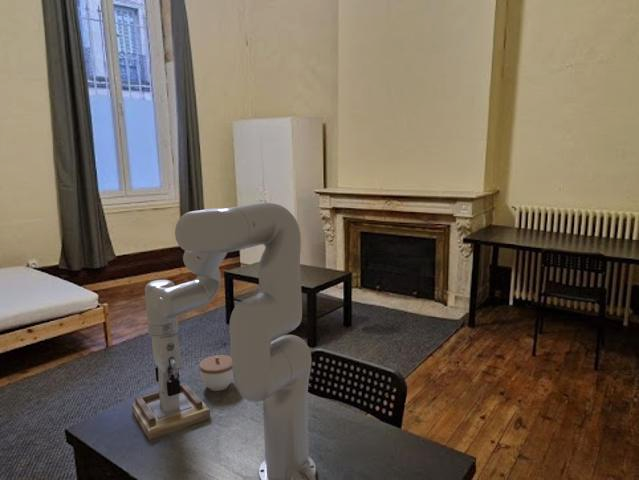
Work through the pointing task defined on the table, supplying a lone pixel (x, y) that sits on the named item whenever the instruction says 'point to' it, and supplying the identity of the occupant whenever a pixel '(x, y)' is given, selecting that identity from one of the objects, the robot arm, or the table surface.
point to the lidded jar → (216, 372)
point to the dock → (169, 412)
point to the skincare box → (167, 401)
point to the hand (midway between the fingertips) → (168, 387)
